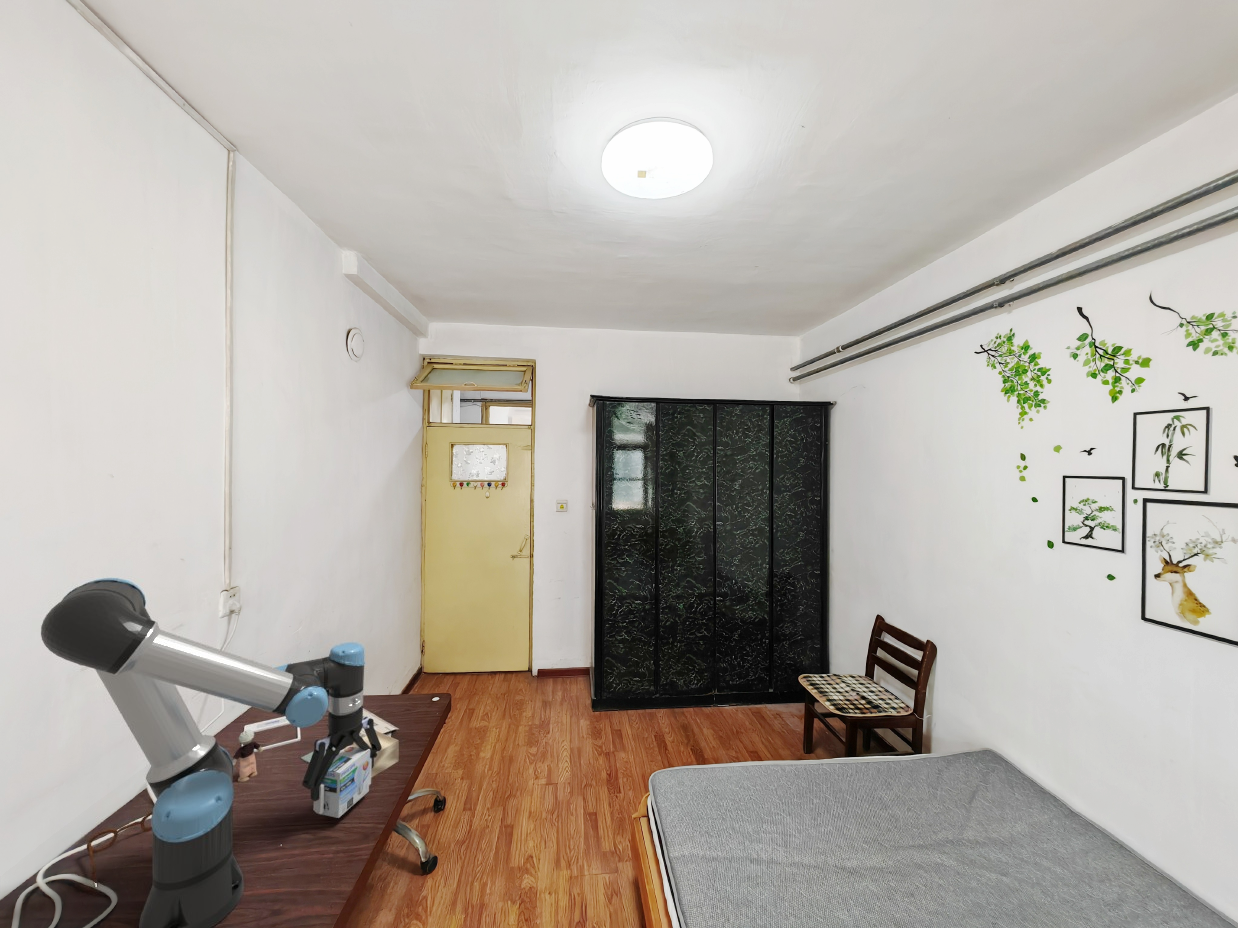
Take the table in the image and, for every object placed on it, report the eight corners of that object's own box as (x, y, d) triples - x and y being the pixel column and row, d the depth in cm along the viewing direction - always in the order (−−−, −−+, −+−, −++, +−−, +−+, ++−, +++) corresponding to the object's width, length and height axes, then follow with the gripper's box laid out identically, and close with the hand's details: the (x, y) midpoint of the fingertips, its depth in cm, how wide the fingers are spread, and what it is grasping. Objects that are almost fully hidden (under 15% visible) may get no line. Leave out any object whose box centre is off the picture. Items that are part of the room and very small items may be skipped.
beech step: (352, 789, 130) (352, 766, 130) (329, 777, 135) (329, 755, 135) (398, 760, 142) (398, 740, 142) (375, 750, 147) (375, 730, 147)
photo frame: (299, 712, 167) (300, 737, 152) (299, 715, 167) (300, 741, 152) (244, 724, 159) (240, 753, 144) (244, 728, 159) (240, 756, 144)
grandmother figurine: (253, 767, 138) (253, 722, 138) (264, 769, 138) (264, 724, 137) (226, 785, 131) (226, 737, 131) (238, 787, 130) (238, 739, 130)
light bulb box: (338, 819, 117) (340, 773, 117) (314, 814, 118) (315, 768, 118) (370, 790, 127) (371, 747, 127) (347, 785, 129) (348, 744, 129)
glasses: (167, 823, 118) (167, 802, 118) (179, 851, 110) (179, 829, 110) (86, 857, 108) (86, 834, 108) (93, 891, 100) (93, 866, 99)
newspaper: (325, 726, 161) (326, 718, 161) (363, 714, 171) (363, 707, 171) (361, 750, 148) (362, 741, 148) (400, 736, 158) (400, 728, 158)
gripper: (304, 735, 111) (302, 833, 111) (398, 693, 132) (395, 775, 132) (285, 725, 114) (283, 820, 114) (379, 686, 135) (377, 766, 135)
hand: (343, 796), depth 123 cm, fingers closed on light bulb box, 11 cm apart
